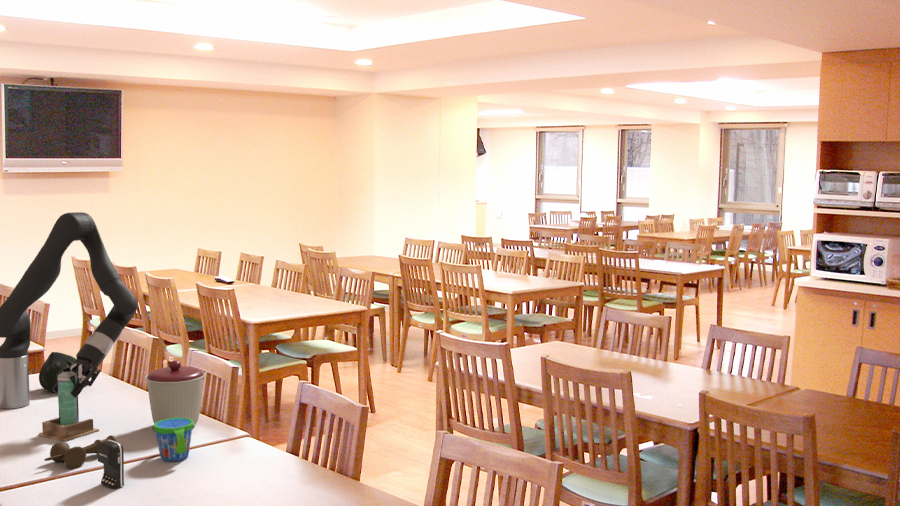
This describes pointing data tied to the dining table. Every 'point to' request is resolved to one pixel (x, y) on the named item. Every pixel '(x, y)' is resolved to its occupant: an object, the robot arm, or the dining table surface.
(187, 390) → the canister
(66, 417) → the spray can
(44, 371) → the squash
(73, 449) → the kendama
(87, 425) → the keeper cradle
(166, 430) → the snack cup
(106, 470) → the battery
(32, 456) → the dining table surface
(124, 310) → the robot arm
